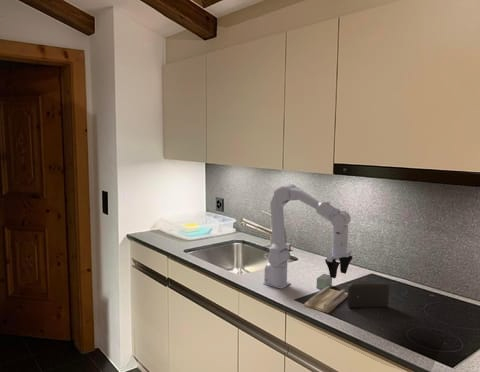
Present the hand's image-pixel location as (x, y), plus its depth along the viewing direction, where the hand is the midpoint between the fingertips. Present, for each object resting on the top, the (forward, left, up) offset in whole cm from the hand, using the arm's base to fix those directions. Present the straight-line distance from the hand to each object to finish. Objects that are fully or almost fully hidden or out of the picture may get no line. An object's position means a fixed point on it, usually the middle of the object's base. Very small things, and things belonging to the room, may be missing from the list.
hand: (338, 275), depth 159 cm
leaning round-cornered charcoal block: (+13, 0, -10) cm, 16 cm away
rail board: (-2, -4, -10) cm, 11 cm away
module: (-9, +9, -10) cm, 16 cm away
